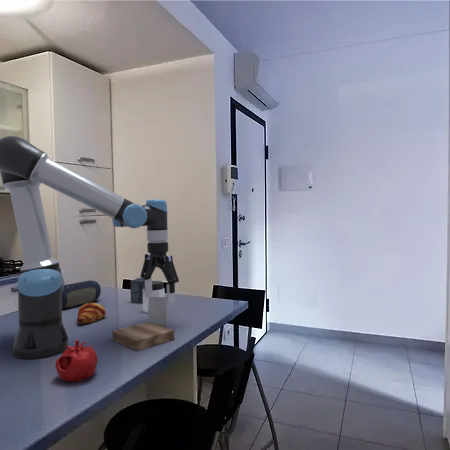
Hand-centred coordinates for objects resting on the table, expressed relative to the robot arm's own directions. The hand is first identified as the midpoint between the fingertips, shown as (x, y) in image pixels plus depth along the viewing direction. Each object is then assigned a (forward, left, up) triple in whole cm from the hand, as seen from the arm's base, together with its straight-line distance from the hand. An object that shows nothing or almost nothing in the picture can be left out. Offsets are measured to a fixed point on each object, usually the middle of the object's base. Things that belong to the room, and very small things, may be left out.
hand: (159, 299), depth 140 cm
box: (+16, +36, -9) cm, 40 cm away
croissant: (-13, +25, -10) cm, 30 cm away
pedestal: (-14, -11, -9) cm, 20 cm away
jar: (+10, +17, -9) cm, 22 cm away
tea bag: (0, 0, -9) cm, 9 cm away
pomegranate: (-41, -22, -9) cm, 48 cm away
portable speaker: (-8, +52, -10) cm, 53 cm away
